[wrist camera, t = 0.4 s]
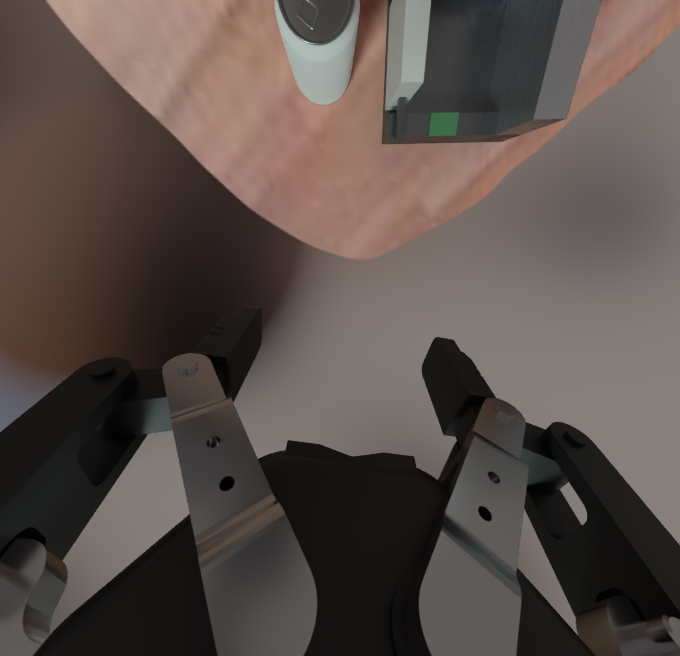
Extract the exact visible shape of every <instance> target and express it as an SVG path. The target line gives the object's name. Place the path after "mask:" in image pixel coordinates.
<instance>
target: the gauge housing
mask: <svg viewBox="0 0 680 656" xmlns="http://www.w3.org/2000/svg"><path fill="white" fill-rule="evenodd" d="M391 2H392V0H388V10H387V34H386V58H385V81H384V105H383V128H382V144H415V143H462V142H502V141H505V140H508V139H511V138H513V137H516V136H519V135H522V134H525V133H527V132H530V131H533V130H536V129H539V128H542V127H544V126H547V125H550V124H553V123H556V122H558V121H561V120H564V119H566V118H567V114H568V111H569V108H570V104H571V101H572V97H573V94H574V91H575V87H576V84H577V81H578V77H579V74H580V71H581V67H582V64H583V60H584V57H585V54H586V50H587V47H588V44H589V40H590V37H591V33H592V30H593V27H594V23H595V20H596V17H597V13H598V10H599V6H600V3H601V0H431V8H430V18H429V29H428V40H427V50H426V61H425V71H424V82H423V83H422V85H421V86H420V87H419V89H418V90H417V91H416V93H415V94H414V95H413V97H412V98H411V99H410V100H409V102H408V103H407V104H406V106H405V110H404V124H403V138H402V140H401V141H400V142H395V128H396V112H397V110H385V99H386V76H387V54H388V32H389V9H390V5H391Z"/></svg>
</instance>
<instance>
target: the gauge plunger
mask: <svg viewBox="0 0 680 656" xmlns="http://www.w3.org/2000/svg"><path fill="white" fill-rule="evenodd" d="M430 8H431V0H392V2H391V5H390V9H389V32H388V54H387V76H386V99H385V110H397V112H396V128H395V142H400V141H401V140H402V138H403V124H404V110H405V106H406V104H407V103H408V102H409V100H410V99H411V98H412V97H413V95H414V94H415V93H416V91H417V90H418V89H419V87H420V86H421V85H422V83H423V82H424V71H425V61H426V50H427V40H428V29H429V18H430Z"/></svg>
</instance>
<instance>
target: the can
mask: <svg viewBox="0 0 680 656" xmlns="http://www.w3.org/2000/svg"><path fill="white" fill-rule="evenodd" d="M274 2H275V11H276V17H277V21H278V25H279V29H280V32H281V36H282V39H283V42H284V45H285V49H286V52H287V55H288V58H289V62H290V65H291V68H292V71H293V74H294V77H295V80H296V83H297V85H298V87H299V89H300V91H301V92H302V93H303V95H304V96H305V97H306V98H307V99H309V100H310V101H312V102H314V103H316V104H320V105H327V104H331V103H333V102H335V101H336V100H338V99H339V98H340V97H341V96H342V95H343V93H344V92H345V90H346V88H347V86H348V84H349V81H350V76H351V71H352V65H353V58H354V51H355V44H356V37H357V30H358V22H359V12H360V0H274Z"/></svg>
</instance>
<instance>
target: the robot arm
mask: <svg viewBox="0 0 680 656" xmlns="http://www.w3.org/2000/svg"><path fill="white" fill-rule="evenodd" d="M261 341H262V309H261V308H258V307H252V306H246V305H244V306H243V307H242V308H241V309H240V310H239V312H238V313H237V314H236V315H232V314H229V315H227V316H225V317H223V318H222V319H220V320H219V321H218V322H217V323H216V324H215V326H214V328H212V329H211V330H210V332H209V334H207V335H206V336H205V337H204V339H203V340H202V341H201V342H200V343H199V344H198V346H197V347H196V348H195V349H194V350H193V351H192V353H191V354H184V355H180V356H177V357H175V358H173V359H171V360H170V361H169V362H167V363H166V364H165V365H164V367H163V368H155V369H142V370H134V368H133V365H132V363H131V362H130V361H129V360H127V359H124V358H117V357H111V358H104V359H99V360H96V361H93V362H90V363H88V364H86V365H84V366H82V367H81V368H79V369H78V370H76V371H75V372H74V373H73V374H72V375H70V376H69V377H68V378H67V379H65V380H64V381H63V382H62V383H61V384H59V385H58V386H57V387H56V388H54V389H53V390H52V391H51V392H49V393H48V394H47V395H46V396H44V397H43V398H42V399H41V400H40V401H38V402H37V403H36V404H35V405H33V406H32V407H31V408H30V409H28V410H27V411H26V412H25V413H23V414H22V415H21V416H20V417H18V418H17V419H16V420H15V421H14V422H12V423H11V424H10V425H9V426H8V427H6V428H5V429H4V430H3V431H1V432H0V656H680V545H679V544H678V543H677V541H675V539H674V538H673V537H672V535H671V534H670V533H669V532H668V531H667V530H666V528H665V527H664V526H663V525H662V524H661V522H660V521H659V520H658V519H657V518H656V516H655V515H654V514H653V513H652V512H651V511H650V509H649V508H648V507H647V506H646V505H645V503H644V502H643V501H642V500H641V499H640V497H639V496H638V495H637V494H636V493H635V491H634V490H633V489H632V488H631V487H630V485H629V484H628V483H627V482H626V481H625V480H624V478H623V477H622V476H621V475H620V474H619V472H618V471H617V470H616V469H615V468H614V467H613V465H612V464H611V463H610V462H609V460H608V459H607V458H606V457H605V456H604V454H603V453H602V452H601V451H600V450H599V449H598V448H597V446H596V445H595V444H594V443H593V442H592V440H591V439H589V438H588V437H587V436H586V435H585V434H583V433H582V432H581V431H579V430H578V429H576V428H574V427H572V426H570V425H568V424H565V423H562V422H554V423H552V424H551V425H550V426H549V427H548V428H547V429H546V430H545V429H542V428H540V427H537V426H535V425H532V424H529V423H527V422H525V419H524V417H523V416H522V414H521V413H520V412H519V411H518V410H517V409H516V408H515V407H513V406H512V405H511V404H509V403H507V402H505V401H503V400H500V399H498V398H496V397H495V395H494V394H493V392H492V391H491V389H490V388H489V386H488V385H487V383H486V381H485V380H484V378H483V377H482V376H481V374H480V372H479V371H478V370H477V368H476V366H475V364H474V363H473V361H472V360H471V359H470V358H469V357H468V356H467V355H466V354H464V353H463V352H461V351H460V349H459V348H458V346H457V345H456V343H455V341H454V340H452V339H446V338H440V337H436V338H435V339H434V340H433V342H432V344H431V346H430V348H429V351H428V353H427V355H426V358H425V359H424V362H423V365H422V375H423V378H424V381H425V384H426V387H427V390H428V393H429V395H430V398H431V401H432V404H433V407H434V409H435V412H436V415H437V418H438V420H439V423H440V426H441V429H442V432H443V434H444V435H447V436H455V437H456V439H457V442H456V443H455V444H454V446H453V448H452V450H451V452H450V455H449V457H448V459H447V461H446V463H445V466H444V468H443V470H442V472H441V474H440V477H439V479H438V480H437V479H435V478H434V477H432V476H431V475H429V474H428V473H426V472H424V471H422V470H420V469H418V468H416V464H415V459H414V457H413V456H405V455H398V454H390V453H378V454H370V455H362V456H355V457H352V456H349V455H346V454H343V453H340V452H338V451H336V450H333V449H330V448H328V447H325V446H323V445H320V444H313V443H306V442H298V441H289V440H288V442H287V447H286V450H285V451H279V452H275V453H271V454H268V455H266V456H263V457H261V458H259V459H257V456H256V454H255V452H254V449H253V447H252V445H251V443H250V440H249V438H248V436H247V433H246V431H245V429H244V427H243V424H242V422H241V420H240V417H239V415H238V413H237V410H236V408H235V406H234V404H233V402H234V400H235V398H236V396H237V394H238V392H239V390H240V388H241V386H242V384H243V382H244V380H245V378H246V376H247V374H248V372H249V370H250V368H251V366H252V364H253V362H254V360H255V358H256V355H257V353H258V351H259V349H260V346H261ZM170 430H173V433H174V438H175V443H176V448H177V453H178V458H179V463H180V468H181V472H182V478H183V483H184V488H185V492H186V497H187V502H188V507H189V512H190V514H189V515H188V516H187V517H186V518H184V519H183V520H182V521H181V522H180V523H179V524H178V525H176V526H175V527H174V528H172V530H170V531H169V532H168V533H167V534H165V535H164V536H163V537H162V538H161V539H159V540H158V541H157V542H156V543H155V544H154V545H152V546H151V547H150V548H149V549H148V550H146V551H145V552H144V553H143V554H142V555H141V556H139V557H138V558H137V559H136V560H135V561H133V562H132V563H131V564H130V565H129V566H127V567H126V568H125V569H124V570H123V571H122V572H120V573H119V574H118V575H117V576H116V577H114V578H113V579H112V580H111V581H110V582H109V583H107V584H106V585H105V586H104V587H103V588H101V589H100V590H99V591H98V592H97V593H96V594H94V595H93V596H92V597H91V598H90V599H88V600H87V601H86V602H85V603H84V604H82V605H81V606H80V607H79V608H78V609H77V610H75V611H74V612H73V613H72V614H71V615H70V616H68V617H67V618H66V619H65V620H64V621H63V622H62V623H61V624H60V625H59V626H58V627H57V628H56V629H55V630H54V631H53V632H52V634H51V635H50V624H51V620H52V616H53V613H54V611H55V608H56V606H57V604H58V602H59V600H60V598H61V596H62V594H63V592H64V590H65V587H66V584H67V579H68V571H67V567H66V565H65V563H64V562H63V561H62V560H63V559H64V557H65V556H66V554H67V553H68V551H69V550H70V548H71V547H72V546H73V544H74V543H75V541H76V540H77V538H78V537H79V535H80V534H81V532H82V531H83V529H84V528H85V526H86V525H87V523H88V522H89V520H90V519H91V517H92V516H93V515H94V513H95V512H96V510H97V509H98V507H99V506H100V504H101V502H102V501H103V500H104V498H105V497H106V495H107V494H108V492H109V491H110V489H111V488H112V486H113V485H114V483H115V482H116V480H117V479H118V478H119V476H120V474H121V473H122V471H123V470H124V469H125V467H126V466H127V464H128V463H129V461H130V460H131V458H132V457H133V455H134V454H135V452H136V451H137V449H138V448H139V447H140V445H141V444H142V442H143V441H144V439H145V438H146V436H147V435H148V434H150V433H157V432H163V431H170ZM568 482H570V484H571V486H572V487H573V489H574V490H575V492H576V493H577V495H578V496H579V498H580V500H581V501H582V502H583V504H584V506H585V508H586V511H587V521H586V523H585V524H584V525H581V524H580V522H579V520H578V519H577V517H576V515H575V514H574V512H573V510H572V509H571V507H570V506H569V504H568V502H567V501H566V499H565V497H564V496H563V494H562V492H561V491H560V489H561V487H563V486H564V485H566V484H567V483H568ZM524 509H525V511H526V513H527V515H528V517H529V519H530V521H531V523H532V526H533V528H534V530H535V532H536V534H537V536H538V538H539V540H540V543H541V545H542V547H543V549H544V551H545V553H546V555H547V557H548V560H549V562H550V564H551V566H552V568H553V570H554V572H555V575H556V577H557V579H558V581H559V583H560V585H561V587H562V589H563V591H564V594H565V596H566V598H567V600H568V602H569V604H570V606H571V609H572V611H573V613H574V615H575V617H576V628H577V632H578V635H577V634H576V633H575V632H574V631H573V629H572V628H571V627H570V626H569V625H568V624H567V623H566V622H565V621H564V619H563V618H562V617H561V616H560V615H559V614H558V613H557V612H556V610H555V609H554V608H553V607H552V606H551V605H550V604H549V603H548V601H547V600H546V599H545V598H544V597H543V596H542V595H541V593H540V592H539V591H538V590H537V589H536V588H535V587H534V586H533V584H532V583H531V582H530V581H529V580H528V579H527V578H526V577H525V576H524V574H523V573H522V572H521V571H520V570H519V569H518V568H517V562H518V554H519V546H520V537H521V529H522V521H523V513H524Z"/></svg>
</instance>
